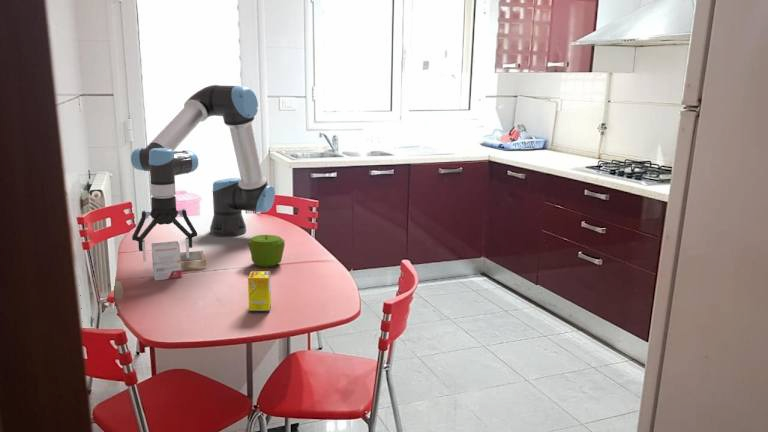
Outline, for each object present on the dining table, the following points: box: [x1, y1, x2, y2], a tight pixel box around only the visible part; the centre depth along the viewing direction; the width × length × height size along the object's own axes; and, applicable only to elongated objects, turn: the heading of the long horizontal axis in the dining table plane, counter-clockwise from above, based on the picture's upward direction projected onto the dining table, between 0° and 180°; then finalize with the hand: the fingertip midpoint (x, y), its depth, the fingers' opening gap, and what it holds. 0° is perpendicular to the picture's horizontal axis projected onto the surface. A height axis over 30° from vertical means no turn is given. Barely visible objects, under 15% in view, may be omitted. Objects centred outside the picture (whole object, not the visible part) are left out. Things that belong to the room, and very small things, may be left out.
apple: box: [247, 234, 286, 268], centre depth 217 cm, size 12×12×11 cm
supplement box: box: [247, 270, 272, 314], centre depth 176 cm, size 6×6×11 cm
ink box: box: [151, 240, 183, 281], centre depth 201 cm, size 9×5×12 cm, turn 116°
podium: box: [180, 250, 207, 272], centre depth 215 cm, size 12×12×3 cm
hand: (166, 258), depth 200 cm, fingers open, 13 cm apart
